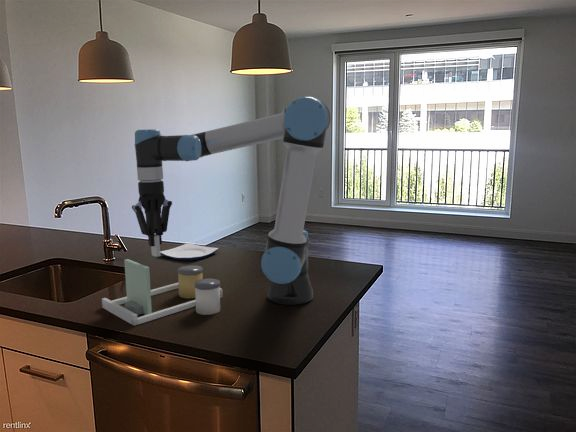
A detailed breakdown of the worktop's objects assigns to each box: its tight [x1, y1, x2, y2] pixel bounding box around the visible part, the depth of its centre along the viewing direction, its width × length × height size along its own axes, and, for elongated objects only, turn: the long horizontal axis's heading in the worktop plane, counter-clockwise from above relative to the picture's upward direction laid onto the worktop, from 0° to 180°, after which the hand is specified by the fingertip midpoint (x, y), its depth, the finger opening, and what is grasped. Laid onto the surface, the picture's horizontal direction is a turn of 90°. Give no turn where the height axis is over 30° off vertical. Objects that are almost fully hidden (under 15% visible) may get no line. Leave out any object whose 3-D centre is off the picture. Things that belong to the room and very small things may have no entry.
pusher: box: [123, 258, 153, 316], centre depth 147 cm, size 13×4×15 cm, turn 46°
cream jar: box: [194, 278, 221, 316], centre depth 148 cm, size 8×8×9 cm
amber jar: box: [177, 265, 204, 299], centre depth 162 cm, size 8×8×9 cm
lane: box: [101, 282, 224, 326], centre depth 155 cm, size 20×32×3 cm, turn 136°
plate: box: [160, 242, 220, 262], centre depth 212 cm, size 20×20×3 cm
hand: (156, 255), depth 151 cm, fingers closed
